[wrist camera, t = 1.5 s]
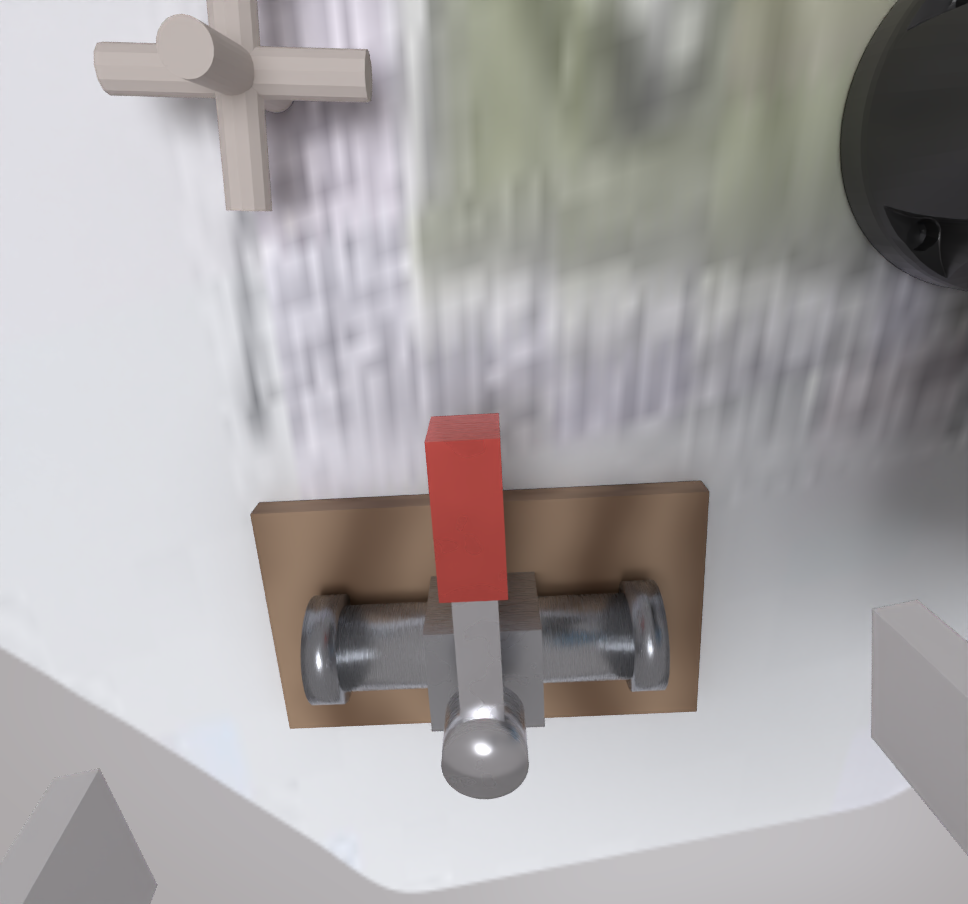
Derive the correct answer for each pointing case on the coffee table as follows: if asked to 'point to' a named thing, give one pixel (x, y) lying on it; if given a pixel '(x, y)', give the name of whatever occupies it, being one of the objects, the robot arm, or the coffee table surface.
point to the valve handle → (474, 604)
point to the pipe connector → (234, 83)
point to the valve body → (524, 644)
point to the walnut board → (529, 547)
